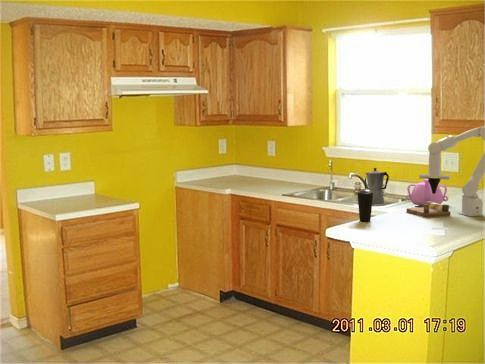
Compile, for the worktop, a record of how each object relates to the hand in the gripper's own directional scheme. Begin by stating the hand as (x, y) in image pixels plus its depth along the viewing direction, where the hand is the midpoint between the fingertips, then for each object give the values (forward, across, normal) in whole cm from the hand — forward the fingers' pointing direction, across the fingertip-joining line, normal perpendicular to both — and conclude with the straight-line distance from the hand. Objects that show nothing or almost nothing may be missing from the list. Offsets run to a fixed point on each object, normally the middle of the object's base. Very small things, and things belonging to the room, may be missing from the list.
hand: (434, 193), depth 297 cm
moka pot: (+10, -32, +14) cm, 37 cm away
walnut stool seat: (+9, -1, -7) cm, 12 cm away
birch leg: (+7, +2, -3) cm, 8 cm away
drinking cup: (+10, -24, -38) cm, 46 cm away
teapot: (+10, -7, +20) cm, 23 cm away
